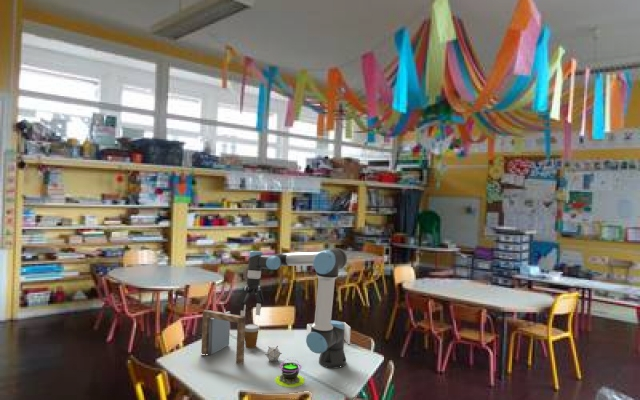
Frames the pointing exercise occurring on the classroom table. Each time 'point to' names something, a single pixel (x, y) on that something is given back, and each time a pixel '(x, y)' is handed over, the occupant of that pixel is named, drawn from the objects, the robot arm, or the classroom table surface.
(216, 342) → the door
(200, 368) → the classroom table surface
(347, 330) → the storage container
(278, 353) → the game die
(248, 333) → the disposable coffee cup
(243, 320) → the door frame
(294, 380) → the toy cauldron
